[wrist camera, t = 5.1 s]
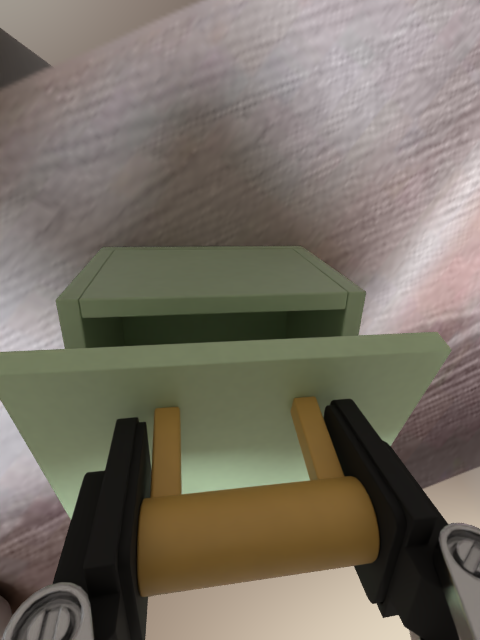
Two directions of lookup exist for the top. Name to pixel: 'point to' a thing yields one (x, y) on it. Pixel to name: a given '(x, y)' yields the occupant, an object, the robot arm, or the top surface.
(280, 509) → the lid
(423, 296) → the top surface
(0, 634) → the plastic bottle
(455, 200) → the top surface
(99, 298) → the chest
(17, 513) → the top surface
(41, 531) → the top surface
